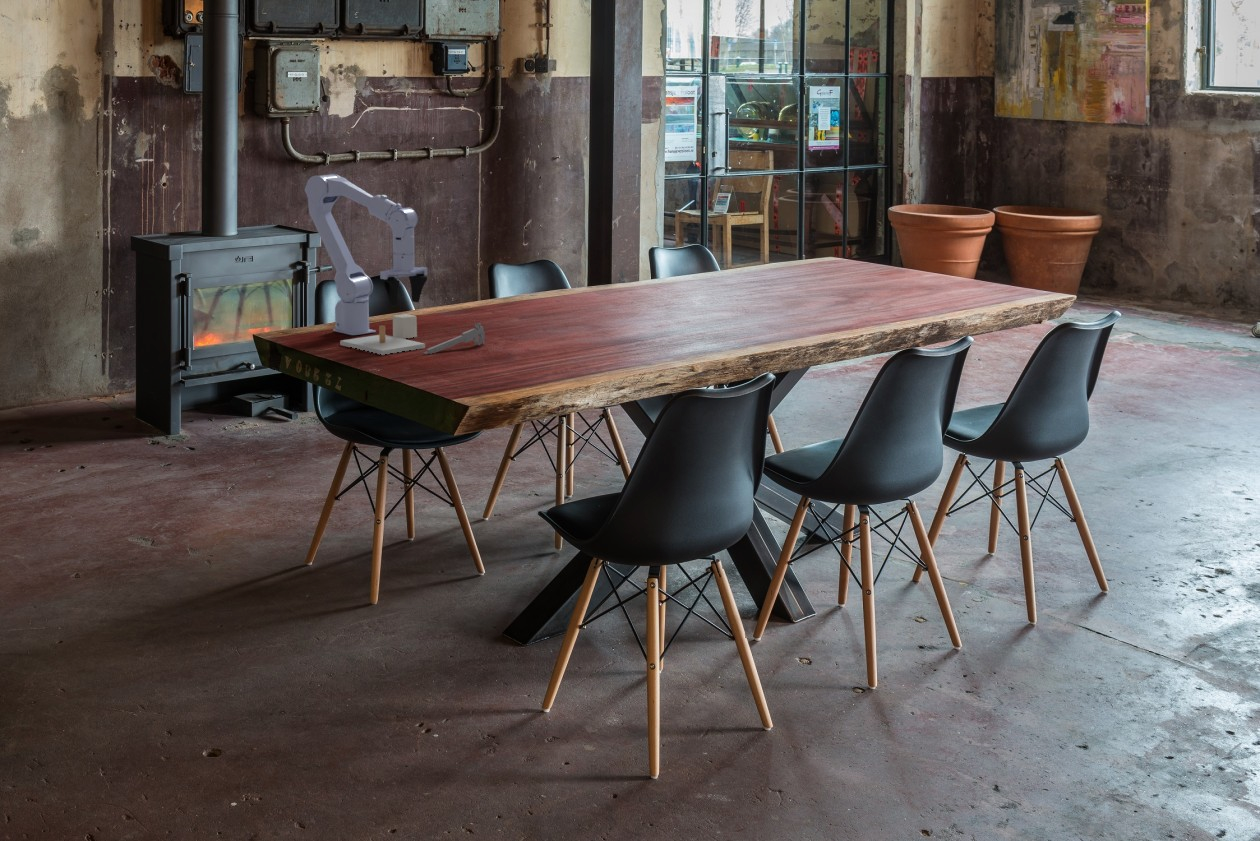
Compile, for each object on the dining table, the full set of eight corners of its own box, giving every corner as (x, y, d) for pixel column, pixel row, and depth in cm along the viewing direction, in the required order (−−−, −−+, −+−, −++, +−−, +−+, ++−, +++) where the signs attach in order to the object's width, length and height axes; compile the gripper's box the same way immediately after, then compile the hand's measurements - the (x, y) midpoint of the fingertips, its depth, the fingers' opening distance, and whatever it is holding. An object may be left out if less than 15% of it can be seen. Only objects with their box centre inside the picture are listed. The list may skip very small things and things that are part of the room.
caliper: (482, 344, 376) (481, 321, 375) (484, 345, 375) (484, 322, 374) (423, 355, 361) (422, 331, 360) (426, 355, 361) (425, 331, 359)
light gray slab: (340, 345, 370) (339, 324, 369) (382, 338, 380) (382, 318, 379) (382, 355, 359) (381, 334, 357) (425, 348, 369) (424, 327, 367)
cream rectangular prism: (393, 336, 383) (392, 315, 382) (406, 334, 387) (406, 313, 385) (403, 339, 380) (403, 318, 379) (416, 337, 384) (416, 316, 382)
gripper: (391, 257, 370) (392, 308, 373) (434, 252, 380) (434, 302, 383) (374, 254, 374) (376, 304, 378) (417, 250, 385) (418, 299, 388)
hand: (404, 303), depth 381 cm, fingers open, 7 cm apart
